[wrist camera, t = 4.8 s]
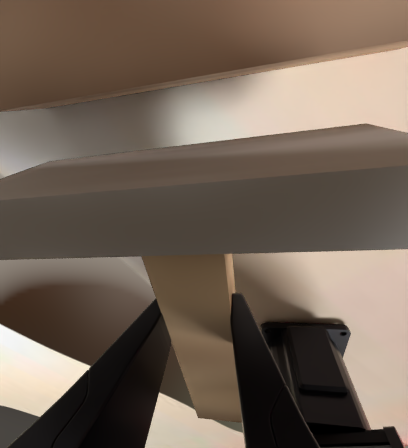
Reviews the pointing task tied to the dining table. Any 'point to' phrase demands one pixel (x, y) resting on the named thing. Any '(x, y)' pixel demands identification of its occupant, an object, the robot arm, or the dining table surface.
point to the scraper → (212, 223)
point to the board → (175, 43)
